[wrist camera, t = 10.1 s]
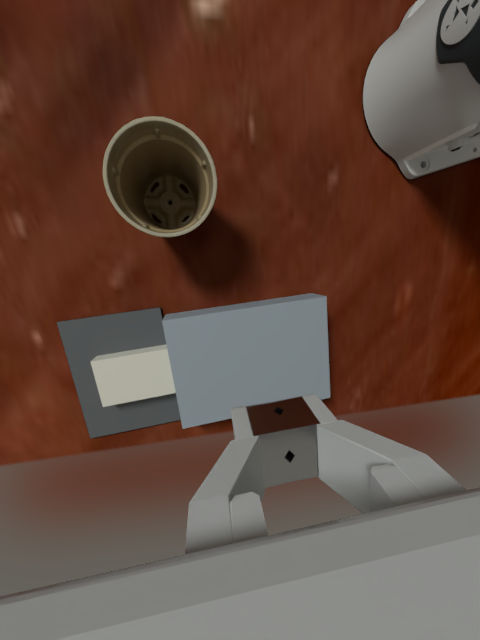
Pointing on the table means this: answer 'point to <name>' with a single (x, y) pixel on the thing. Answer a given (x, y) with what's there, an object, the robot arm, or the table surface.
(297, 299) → the plate
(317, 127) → the table surface
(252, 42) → the table surface
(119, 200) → the flower pot
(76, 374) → the mat
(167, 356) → the cream flat block
